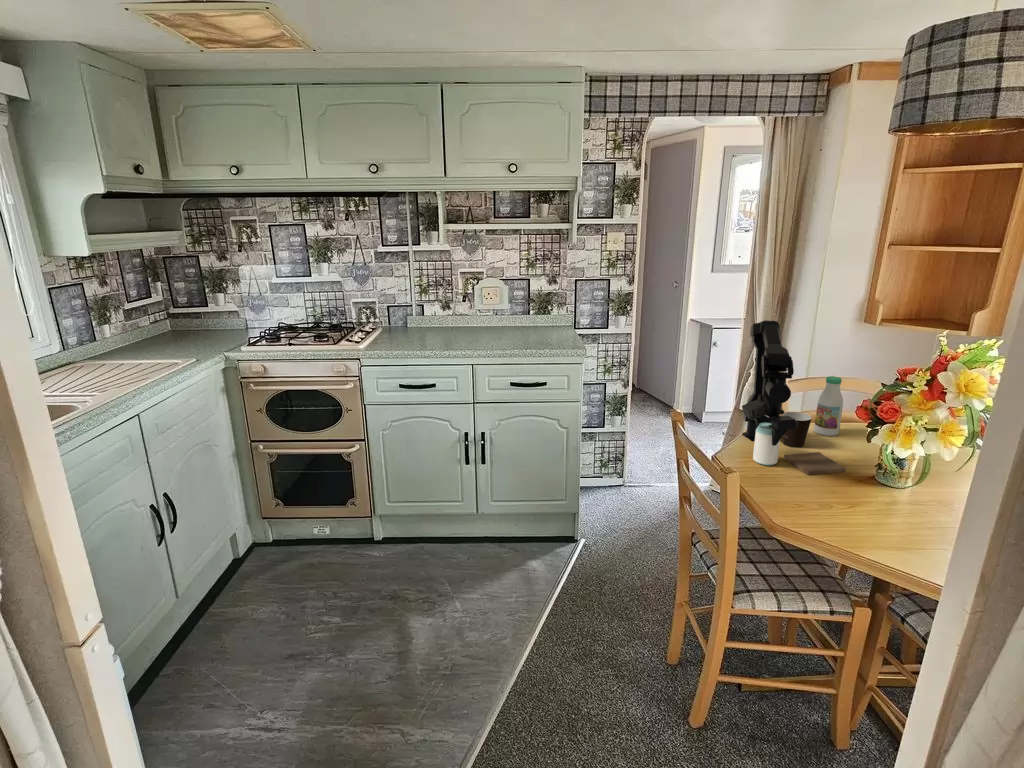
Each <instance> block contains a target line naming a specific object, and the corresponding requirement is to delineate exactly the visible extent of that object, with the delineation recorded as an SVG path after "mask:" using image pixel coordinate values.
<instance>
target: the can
mask: <svg viewBox="0 0 1024 768" xmlns="http://www.w3.org/2000/svg"><path fill="white" fill-rule="evenodd" d="M768 425H772V424H771V423H760V424H759V426H758V427H757V428H756V434H755V441H754V444H753V453H752V460H753V461H754V462H755V463H757V464H758V465H763V466H773V465H775V464H777V463H778V459H779V451H780V444H781V440H780V441H779V442H778V443H777V445H775V446H773V445H772V429H771V428H770V427H769V426H768Z"/></svg>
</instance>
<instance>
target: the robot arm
mask: <svg viewBox="0 0 1024 768" xmlns="http://www.w3.org/2000/svg"><path fill="white" fill-rule="evenodd" d="M749 332H750V333H749V335H750V337H751V342H752V344H753V346H754V348H755V360H754V363H755V364H754V376H753V377H754V378H753V379H754V380H753V392H752V393H751V394H750V396H749V398H748V400H747V403H745V404H743V405H742V406H741V408H742V411H743V412H742V413H743V417H742V418H743V420H744V422H747V424H746V432H742V434H741V435H742V436H744V437H745V438H747V439H748V440H749V441H752V442H753V441H754V442H755V434H756V428H757V427H758V426H759V424H760V423H771V424H772V425H768V426H769V427H770V428H771V429H772V445H773V446H775V445H777V443H778V442H779V441H780V442H781V439H783V435H784V434H785V433H786V432H787V431H788V430H789V429H797V423H798V422H797V421H796V420H795V419H793V418H792V417H790V416H783V414H784V413H785V410H784V409H783V408H782V406H783V403H786V402H787V401H789V399H790V398H791V396H792V390H791V388H790V387H789V386H788V384H787V381H786V380H787V379H793V375H794V373H795V371H794V361H793V359H792V356H790V353H789V350H788V349H787V348H785V347H783V346H782V342H781V341H782V340H781V336H780V335H781V324H780V323H779V321H777V320H762V321H759V322H755V323H753V324H752V325H751V326H750V330H749Z"/></svg>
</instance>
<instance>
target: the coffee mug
mask: <svg viewBox="0 0 1024 768" xmlns="http://www.w3.org/2000/svg"><path fill="white" fill-rule="evenodd" d="M782 416H790V417H792V418H793V419H795V420H796V421H797V422H798V423H797V429H789V430H788V431H787V432H786V433H785V434H784V435H783V437H782V444H783V445H784V446H786V447H789V448H794V449H801V448H803V447H804V446H805V444H806V439H807V436H808V432H809V429H810V426H811V422H812V416H811V415H809V414H808V413H804V412H802V411H801V412H799V411H786V412H785V411H784V414H782Z"/></svg>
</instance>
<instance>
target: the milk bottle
mask: <svg viewBox="0 0 1024 768" xmlns="http://www.w3.org/2000/svg"><path fill="white" fill-rule="evenodd" d="M841 385H842V377H838V376H834V375H833V376H832V375H831V376H826V378H825V387H824V388H823V391H822V392H821V393H820V395H819V397H818V400H817V406H816V413H815V418H814V419H815V420H814V424H813V425H814V427H813V430H814V432H815V433H816V434H818V435H821V436H827V437H836V436H838V435H839V433H840V429H841V422H842V415H843V409H844V407H843V406H844V398H843V394H842V392H841Z"/></svg>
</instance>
